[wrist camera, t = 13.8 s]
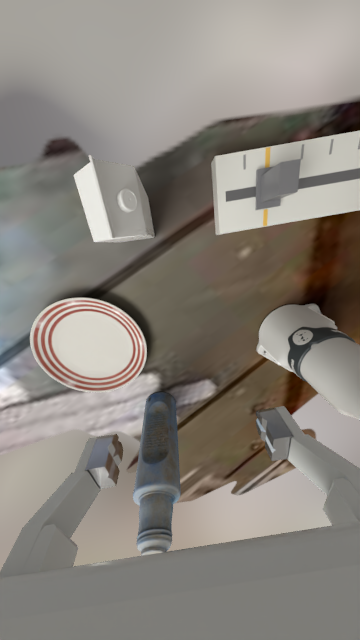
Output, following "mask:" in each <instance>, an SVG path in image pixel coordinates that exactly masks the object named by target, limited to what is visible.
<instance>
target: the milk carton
mask: <svg viewBox="0 0 360 640" xmlns="http://www.w3.org/2000/svg"><path fill="white" fill-rule="evenodd" d="M89 158H90V163H88V164H87V165H86V166H85V167H83V168H82V169H81V170H80V171H78V172H77V173H76V174H74V178H75V181H76V185H77V188H78V191H79V194H80V198H81V201H82V204H83V208H84V211H85V214H86V217H87V221H88V224H89V227H90V231H91V234H92V237H93V240H94V242H126V241H133V240H140V239H147V238H154V237H155V234H154V228H153V222H152V217H151V211H150V205H149V199H148V196H147V194H146V192H145V189H144V187H143V185H142V183H141V181H140V178H139V176H138V174H137V172H136V170H135V168H134V166H129V165H123V164H118V163H112V162H106V161H101V160H95V159H94V158H93V157H92V156H91V155H89Z"/></svg>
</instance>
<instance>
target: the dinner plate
mask: <svg viewBox="0 0 360 640" xmlns="http://www.w3.org/2000/svg"><path fill="white" fill-rule="evenodd" d="M30 344H31V349H32V352H33V355H34V357H35V359H36V361H37V362H38V364H39V365H40V367H41V368H42V369H43V370H44V371H45V372H46V373H47V374H48V375H49V376H50V377H52V378H53V379H55V380H56V381H58V382H59V383H61V384H63V385H65V386H67V387H70V388H73V389H76V390H80V391H84V392H94V393H100V392H109V391H113V390H117V389H119V388H122V387H124V386H126V385H127V384H129V383H130V382H132V381H133V380H134V379H135V378H136V377H137V376H138V375H139V374H140V372H141V371H142V369H143V367H144V365H145V362H146V358H147V345H146V341H145V338H144V335H143V333H142V331H141V329H140V328H139V326H138V325H137V323H136V322H135V321H134V320H133V319H132V318H131V317H130V316H129V315H128V314H127V313H126V312H124V311H123V310H121V309H120V308H118V307H117V306H115V305H113V304H111V303H108V302H106V301H102V300H99V299H94V298H85V297H76V298H68V299H64V300H61V301H58V302H55V303H53V304H51V305H50V306H48V307H47V308H45V309H44V310H43V311H42V312H41V313H40V314H39V315H38V316H37V318H36V319H35V321H34V323H33V326H32V329H31V334H30Z"/></svg>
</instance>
